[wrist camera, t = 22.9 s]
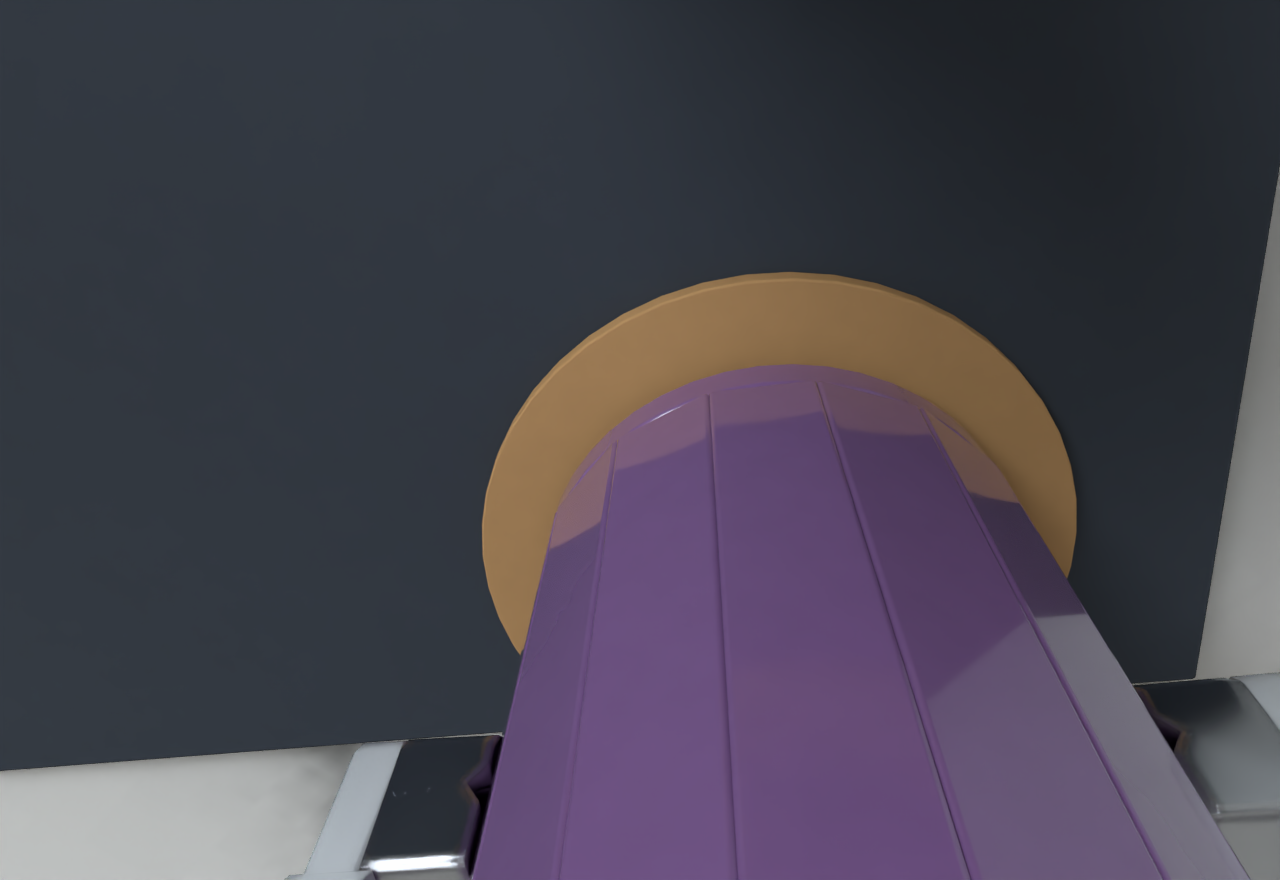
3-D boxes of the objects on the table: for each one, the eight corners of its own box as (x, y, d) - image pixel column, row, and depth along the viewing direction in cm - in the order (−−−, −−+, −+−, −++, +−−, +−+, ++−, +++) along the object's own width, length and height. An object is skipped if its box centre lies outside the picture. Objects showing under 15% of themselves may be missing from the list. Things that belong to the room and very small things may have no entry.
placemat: (1570, -1812, 6) (1682, -2033, 5) (1175, 711, 15) (1197, 745, 14) (-1123, -953, 8) (-1284, -1034, 7) (-6, 799, 17) (-33, 831, 16)
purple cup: (1027, 332, 11) (1977, 1386, 3) (1006, 730, 14) (1462, 1822, 6) (504, 392, 11) (98, 1396, 4) (588, 760, 14) (468, 1783, 6)
